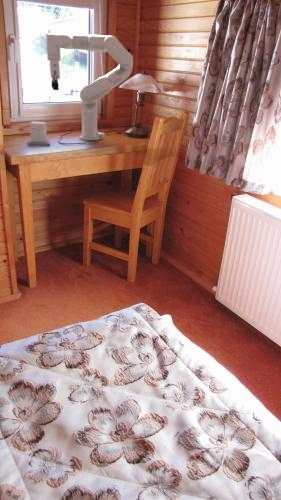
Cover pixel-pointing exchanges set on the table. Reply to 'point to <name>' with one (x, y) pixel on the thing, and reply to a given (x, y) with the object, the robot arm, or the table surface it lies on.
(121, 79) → the robot arm
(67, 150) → the table surface
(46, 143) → the grey board
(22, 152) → the table surface
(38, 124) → the small box
